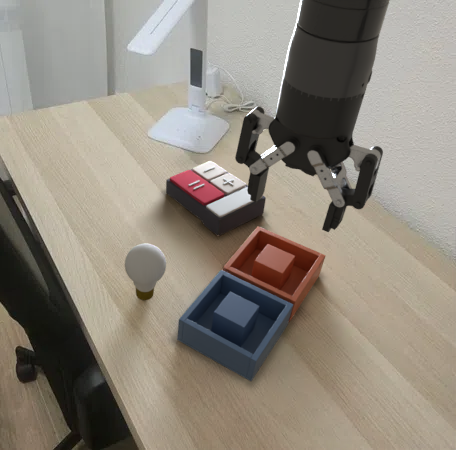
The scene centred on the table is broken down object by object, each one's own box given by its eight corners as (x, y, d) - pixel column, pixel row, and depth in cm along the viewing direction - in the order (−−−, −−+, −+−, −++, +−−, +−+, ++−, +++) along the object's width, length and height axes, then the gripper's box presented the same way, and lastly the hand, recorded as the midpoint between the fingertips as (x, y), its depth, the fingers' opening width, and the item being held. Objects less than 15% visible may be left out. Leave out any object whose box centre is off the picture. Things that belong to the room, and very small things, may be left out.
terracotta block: (289, 277, 86) (295, 255, 83) (277, 294, 83) (282, 273, 80) (263, 264, 88) (267, 243, 85) (250, 281, 85) (254, 260, 82)
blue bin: (287, 325, 80) (293, 304, 77) (251, 381, 72) (256, 361, 69) (217, 290, 84) (220, 269, 81) (176, 339, 77) (178, 319, 74)
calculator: (211, 157, 105) (267, 194, 96) (209, 176, 108) (264, 213, 98) (165, 176, 100) (220, 216, 91) (164, 195, 103) (218, 236, 93)
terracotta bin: (319, 275, 87) (325, 255, 84) (289, 322, 80) (295, 301, 77) (253, 246, 92) (257, 225, 89) (219, 287, 85) (222, 267, 82)
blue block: (254, 327, 78) (259, 305, 75) (239, 348, 76) (244, 327, 73) (226, 312, 80) (230, 291, 77) (210, 333, 77) (213, 311, 74)
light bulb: (147, 277, 86) (148, 229, 79) (172, 299, 83) (175, 251, 76) (117, 294, 83) (115, 246, 76) (141, 318, 80) (142, 270, 73)
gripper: (237, 68, 51) (218, 205, 61) (391, 115, 45) (341, 258, 56) (272, 43, 56) (249, 174, 66) (415, 82, 50) (365, 219, 60)
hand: (291, 212), depth 61 cm, fingers open, 8 cm apart
